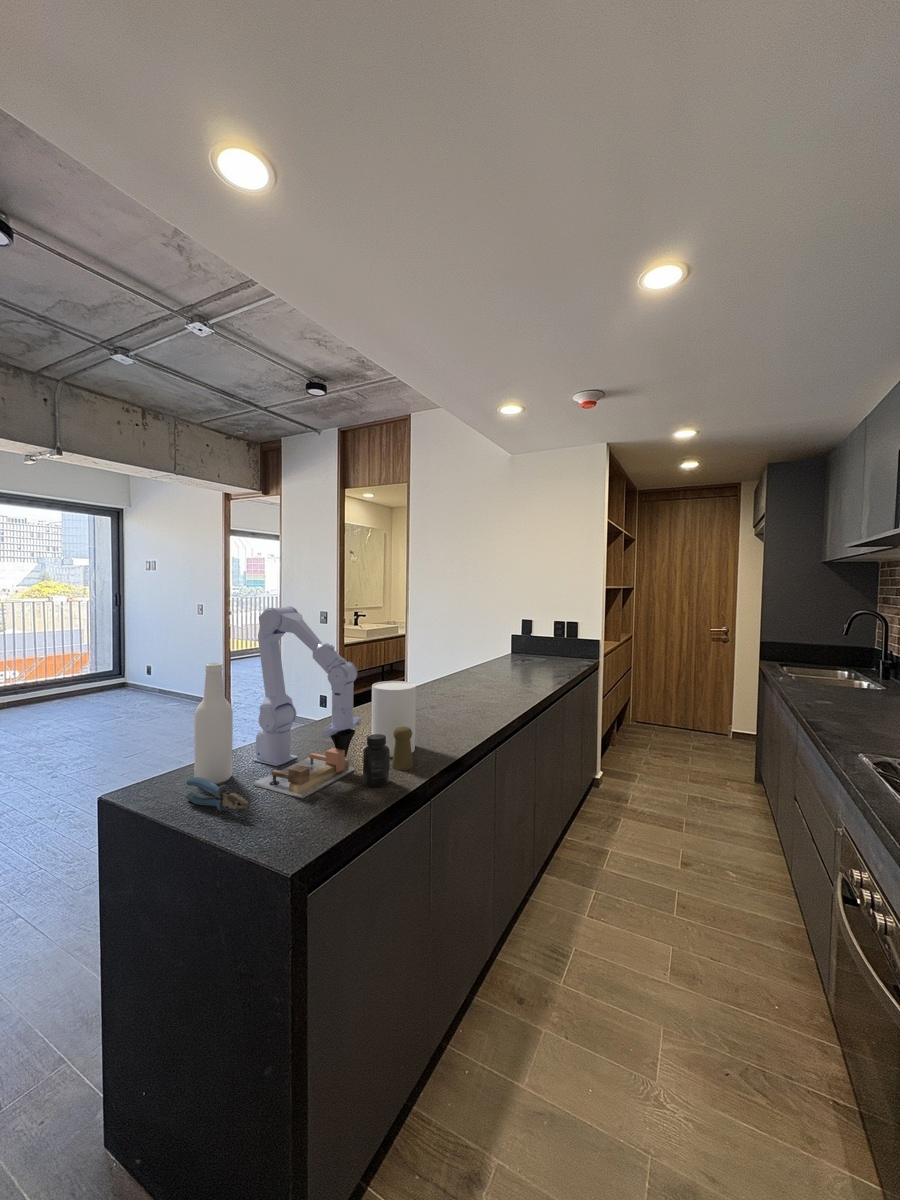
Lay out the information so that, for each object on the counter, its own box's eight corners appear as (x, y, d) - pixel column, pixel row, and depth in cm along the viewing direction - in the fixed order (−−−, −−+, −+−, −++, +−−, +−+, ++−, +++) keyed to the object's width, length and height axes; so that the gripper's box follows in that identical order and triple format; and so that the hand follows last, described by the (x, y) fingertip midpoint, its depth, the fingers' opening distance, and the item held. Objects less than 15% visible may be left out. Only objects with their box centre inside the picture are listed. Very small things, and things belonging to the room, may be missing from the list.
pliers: (250, 818, 106) (251, 791, 105) (242, 822, 104) (242, 795, 104) (193, 797, 115) (193, 772, 115) (184, 801, 113) (184, 776, 113)
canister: (423, 747, 154) (424, 684, 153) (396, 759, 142) (397, 691, 142) (390, 739, 161) (391, 679, 160) (361, 750, 150) (362, 686, 149)
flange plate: (253, 785, 123) (253, 781, 123) (308, 760, 141) (308, 757, 141) (302, 798, 116) (302, 794, 116) (353, 770, 134) (354, 767, 134)
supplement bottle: (393, 779, 128) (394, 734, 127) (382, 789, 121) (382, 742, 121) (370, 775, 130) (371, 731, 130) (357, 785, 124) (358, 738, 123)
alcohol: (213, 771, 131) (213, 660, 131) (239, 775, 129) (240, 662, 128) (186, 783, 123) (186, 665, 122) (214, 788, 120) (214, 667, 120)
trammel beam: (267, 785, 121) (267, 765, 120) (321, 760, 139) (321, 742, 138) (299, 794, 116) (299, 772, 116) (351, 766, 134) (351, 748, 134)
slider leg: (306, 765, 133) (307, 747, 133) (314, 762, 136) (314, 744, 136) (337, 772, 129) (337, 753, 129) (344, 768, 131) (345, 750, 131)
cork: (391, 762, 140) (392, 724, 140) (413, 762, 141) (413, 724, 140) (391, 770, 134) (391, 730, 134) (413, 770, 135) (413, 730, 134)
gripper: (337, 715, 125) (336, 768, 125) (370, 703, 138) (369, 751, 138) (315, 712, 128) (315, 763, 128) (349, 700, 141) (349, 747, 141)
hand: (341, 756), depth 134 cm, fingers closed
